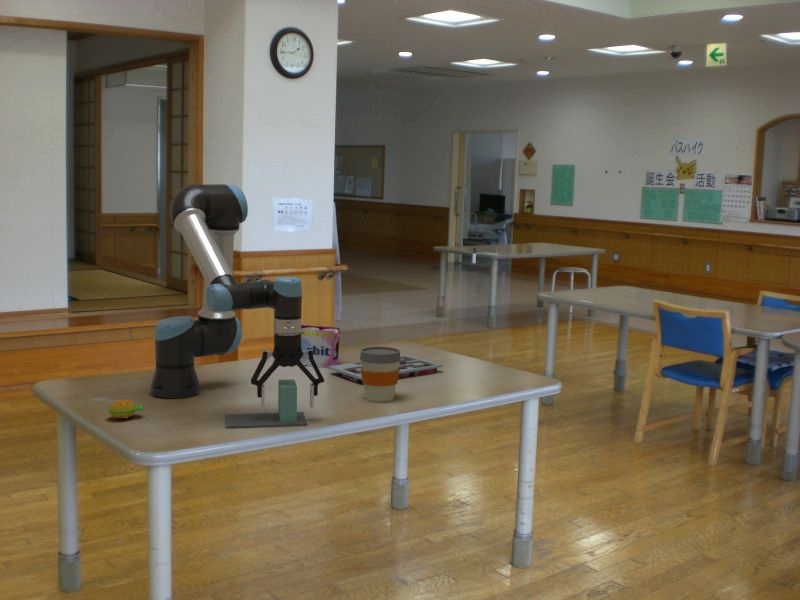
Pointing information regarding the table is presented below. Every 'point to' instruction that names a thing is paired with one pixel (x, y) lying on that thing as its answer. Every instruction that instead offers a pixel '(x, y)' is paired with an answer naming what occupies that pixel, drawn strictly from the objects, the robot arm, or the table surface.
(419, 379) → the table surface
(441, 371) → the table surface
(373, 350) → the reusable coffee cup
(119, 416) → the orange green bumpy toy
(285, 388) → the block
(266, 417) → the mat
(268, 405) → the table surface
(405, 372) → the maze game
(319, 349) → the gum box
